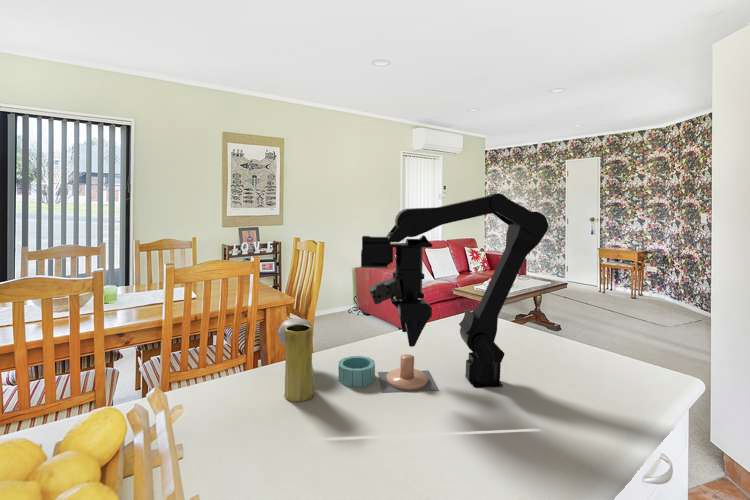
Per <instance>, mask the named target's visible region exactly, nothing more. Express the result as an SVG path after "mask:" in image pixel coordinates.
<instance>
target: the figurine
mask: <svg viewBox="0 0 750 500" xmlns="http://www.w3.org/2000/svg"><path fill="white" fill-rule="evenodd" d="M294 324H306V325H309V326H311V328H312V336H313V333H314V332H313V331H314V329H313V326H312V324H311V322H310V320H308V319H305V318H297V317H296V318H288V319H286V320H284V321H283V322H282V323H281V324H280V325H279V328H278V331H277V337H278V341H279V343H280V344H281V345H282V346H284V347H285V339H286V336H285V328H286V327H287V326H290V325H294Z"/></svg>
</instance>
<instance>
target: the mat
mask: <svg viewBox="0 0 750 500" xmlns="http://www.w3.org/2000/svg"><path fill="white" fill-rule="evenodd" d="M421 371H422V372H424V373H425V374H426V375H427V377H428V382H427V385H426V386H425V387H423V388H421V389H417V390H400V389H396V388H394V387H391V386H390V385H389V384H388V383H387V374H388V373H389V372H390V371H377V374H378V375H377V376H378V379H379V384H380V388H381V389H380V390H381V393H383V394H386V393H387V394H388V393H390V394H391V393H411V392H414V393H415V392H439V391H440V390H439V387H438V385H437V384H436V381H435V379H434V378H433V376H432V374H431V372H430V370H421Z"/></svg>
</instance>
